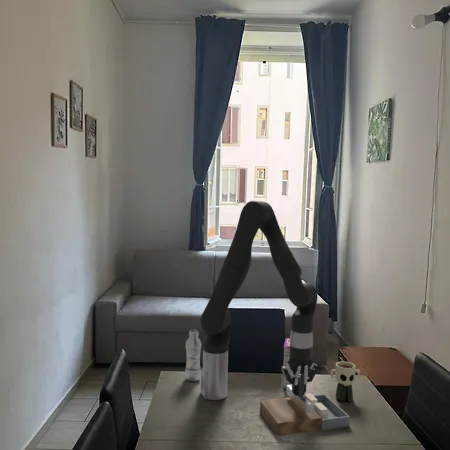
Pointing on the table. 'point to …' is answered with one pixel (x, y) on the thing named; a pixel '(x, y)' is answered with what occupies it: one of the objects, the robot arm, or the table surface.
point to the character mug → (345, 379)
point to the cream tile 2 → (321, 410)
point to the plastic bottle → (193, 356)
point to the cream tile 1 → (311, 399)
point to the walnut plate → (288, 417)
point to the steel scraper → (300, 396)
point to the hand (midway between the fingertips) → (298, 394)
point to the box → (332, 414)
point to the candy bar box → (286, 361)
